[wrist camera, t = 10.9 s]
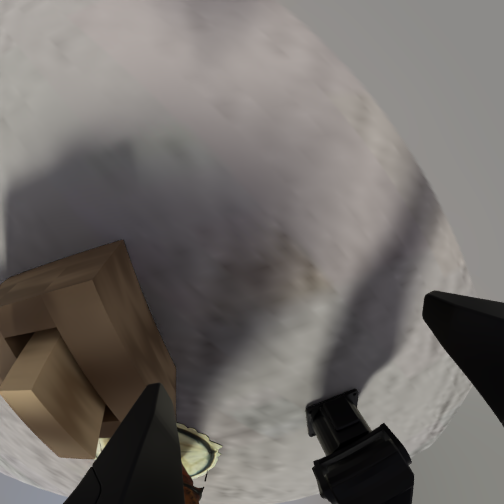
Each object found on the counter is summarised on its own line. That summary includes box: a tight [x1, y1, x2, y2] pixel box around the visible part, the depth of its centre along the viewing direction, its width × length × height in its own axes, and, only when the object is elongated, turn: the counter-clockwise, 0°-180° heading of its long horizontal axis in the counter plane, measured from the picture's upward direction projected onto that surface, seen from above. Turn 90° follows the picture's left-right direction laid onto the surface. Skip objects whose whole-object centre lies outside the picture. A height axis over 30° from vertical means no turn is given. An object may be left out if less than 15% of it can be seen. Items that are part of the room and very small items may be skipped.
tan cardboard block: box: [0, 327, 106, 459], centre depth 13 cm, size 6×4×8 cm, turn 11°
